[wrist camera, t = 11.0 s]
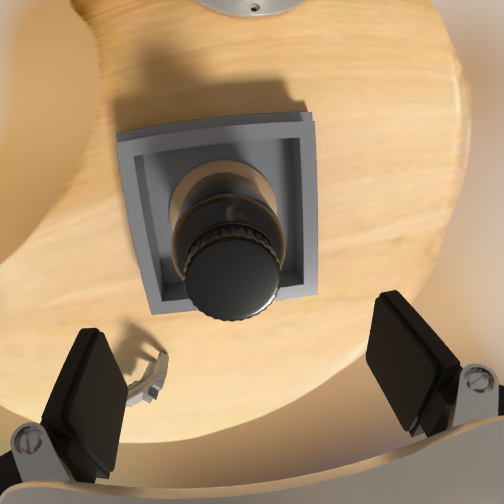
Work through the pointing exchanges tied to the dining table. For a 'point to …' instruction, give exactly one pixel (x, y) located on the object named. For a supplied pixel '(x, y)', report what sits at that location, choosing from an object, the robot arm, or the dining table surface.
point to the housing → (214, 161)
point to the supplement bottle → (228, 247)
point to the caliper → (149, 381)
